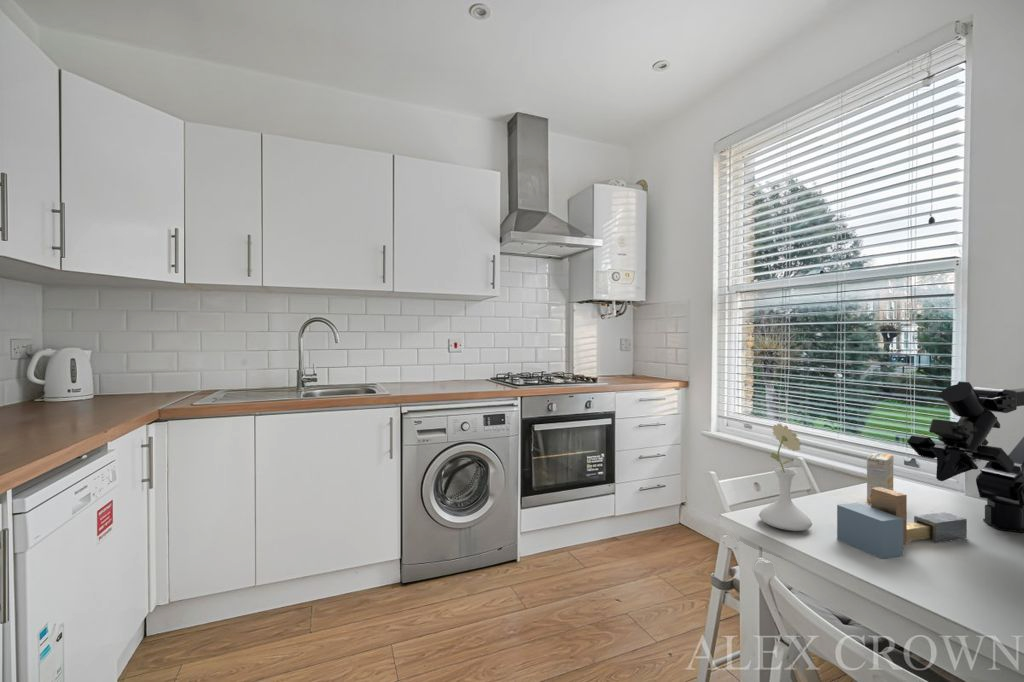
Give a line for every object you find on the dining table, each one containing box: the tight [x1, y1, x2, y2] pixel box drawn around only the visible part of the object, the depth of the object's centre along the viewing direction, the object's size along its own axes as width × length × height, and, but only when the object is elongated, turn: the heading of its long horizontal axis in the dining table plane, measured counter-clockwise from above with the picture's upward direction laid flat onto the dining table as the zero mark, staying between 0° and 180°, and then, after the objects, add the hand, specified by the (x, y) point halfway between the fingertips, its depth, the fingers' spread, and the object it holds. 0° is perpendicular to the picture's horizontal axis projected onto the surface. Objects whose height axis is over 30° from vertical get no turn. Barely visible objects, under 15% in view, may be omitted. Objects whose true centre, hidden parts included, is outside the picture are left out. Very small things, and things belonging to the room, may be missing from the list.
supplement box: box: [866, 452, 894, 503], centre depth 132 cm, size 8×5×13 cm, turn 130°
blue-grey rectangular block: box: [836, 502, 904, 560], centre depth 102 cm, size 6×10×8 cm, turn 15°
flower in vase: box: [758, 423, 813, 532], centre depth 114 cm, size 13×11×25 cm
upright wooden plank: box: [870, 487, 933, 546], centre depth 104 cm, size 20×6×11 cm, turn 105°
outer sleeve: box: [913, 511, 968, 544], centre depth 107 cm, size 10×4×5 cm, turn 105°
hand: (939, 479), depth 107 cm, fingers closed
